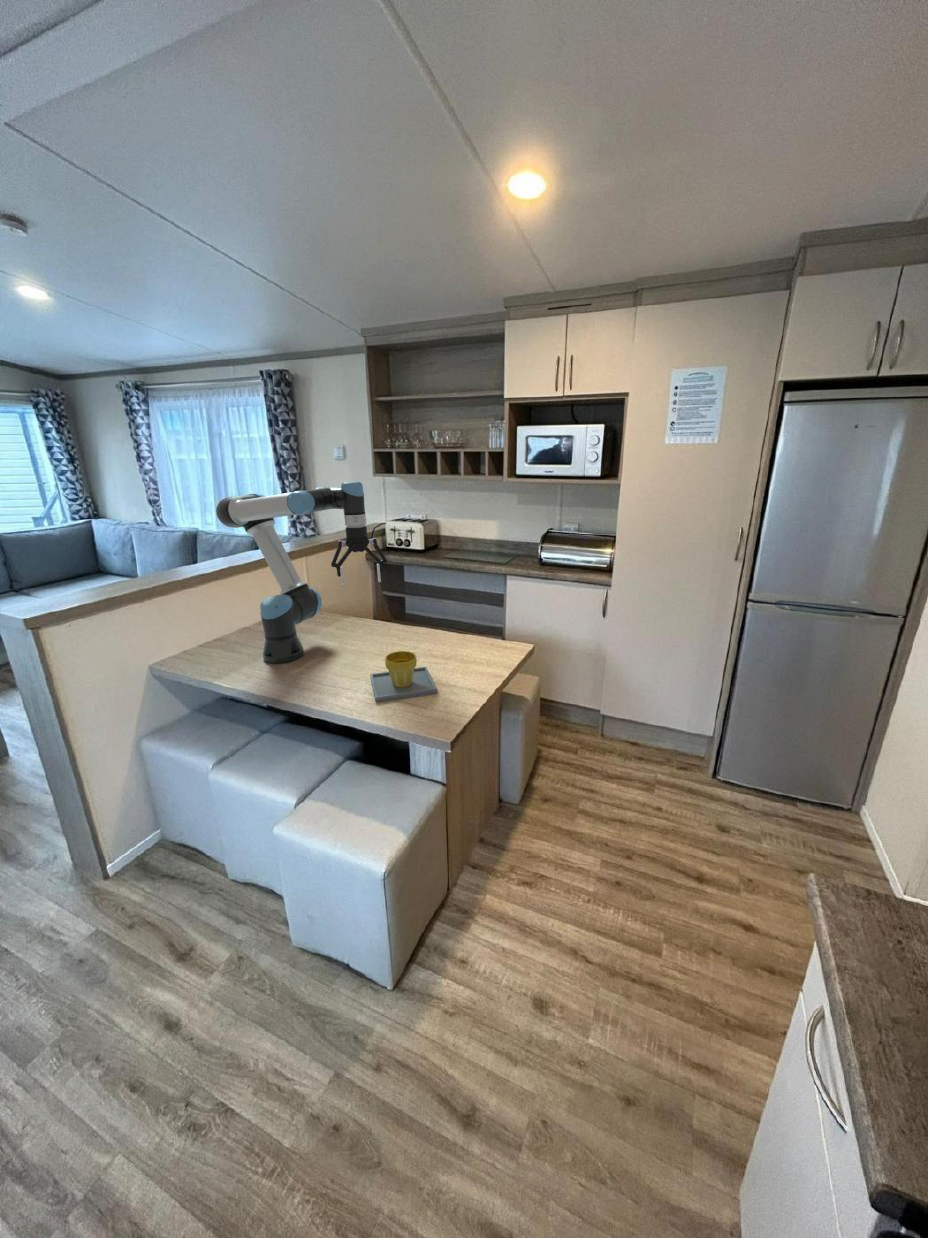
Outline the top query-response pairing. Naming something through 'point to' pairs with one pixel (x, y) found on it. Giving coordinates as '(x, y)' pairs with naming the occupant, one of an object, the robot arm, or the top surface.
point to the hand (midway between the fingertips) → (361, 583)
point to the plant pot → (401, 667)
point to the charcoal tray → (388, 691)
